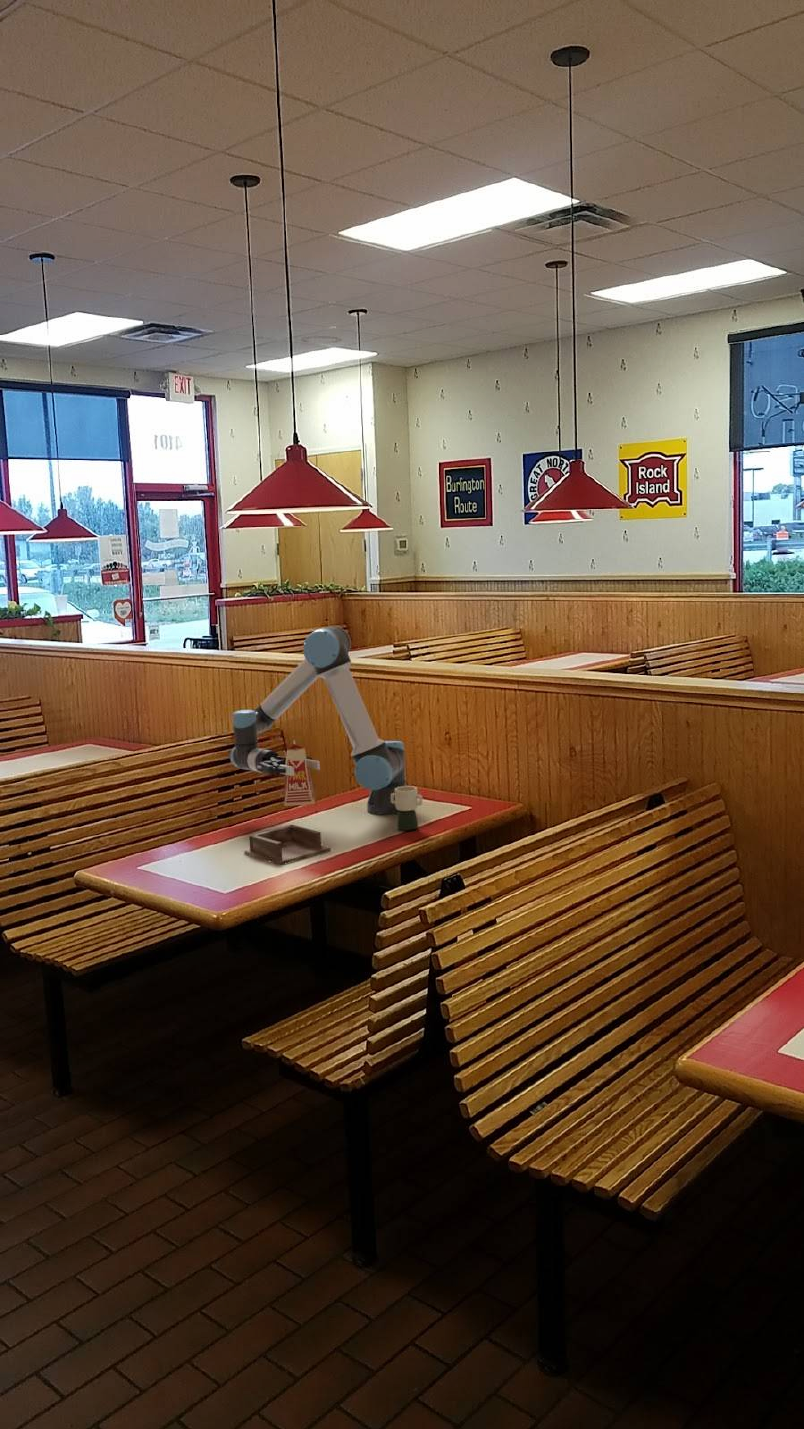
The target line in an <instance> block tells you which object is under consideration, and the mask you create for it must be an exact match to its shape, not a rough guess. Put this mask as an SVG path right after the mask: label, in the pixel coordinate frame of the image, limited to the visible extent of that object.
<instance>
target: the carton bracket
mask: <svg viewBox="0 0 804 1429" xmlns="http://www.w3.org/2000/svg"><path fill="white" fill-rule="evenodd" d="M321 834H322V833H321V832H320V831H318V830H313V829H310V828H305V827H301V826H298V825H294V824H289V825H285V826H281V827H277V828H273V829H269V830H267V831H262V832H258V833H254V834H251V835H250V834H249V836H248V839H249V849H246V850H244V851H243V852H244V855H246V856H249V855H250V856H249V857H252V856H253V858H255V859H259V860H262V861H265V862H268V861H271V862H273V863H272V864H274V865H278V866H283V865H285V863H287V864H290V863H293V862H292V861H294V862H296V861H300V860H304V859H308V858H310V857H311V856H312V857H315V856H318V854H319V855H322V854H325V853H328V852H329V853H330V852H331V850H332V849H331V847H328V846H325V845H322V837H321V836H322V835H321ZM271 862H270V863H271ZM289 862H290V863H289Z"/></svg>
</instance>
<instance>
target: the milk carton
mask: <svg viewBox="0 0 804 1429" xmlns="http://www.w3.org/2000/svg"><path fill="white" fill-rule="evenodd" d="M292 743H293V744H292V745H291V746H290V747H289V748H288V749H287V750H286V753H285V754H286V756H285V757H286V764H285V765H286V766H291V767H294V775H295V776H290V775H284V804H283V805H284V807H289V806H290V807H291V806H305V805H315V799H316V798H315V793H314V788H313V782H312V778H311V776H312V775H311V771H310V769H309V766H308V762H307V757H308V756H307V753H306V748H305V747H303V746H300V745H298V744H296V739H294V740H293V741H292Z"/></svg>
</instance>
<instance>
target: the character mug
mask: <svg viewBox="0 0 804 1429" xmlns="http://www.w3.org/2000/svg"><path fill="white" fill-rule="evenodd" d="M394 796H395V801H394ZM391 803H393V804H395V806H396V809H397V810H400V812H399V813H398V817H397V818H398V819H397V829H398V830H400V831H408V830H411V831H413V830H414V829H417V828H418V827H419V824H418V818H417V812H416V811H415V810H417V809H418V807H419V806H420V807H421V806H423V795H421V794H419V793H418V787H417V786H413V785H406V786H402V787H398V788H395V793H391Z"/></svg>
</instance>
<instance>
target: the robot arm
mask: <svg viewBox="0 0 804 1429" xmlns="http://www.w3.org/2000/svg"><path fill="white" fill-rule="evenodd" d="M351 641H352V640H351V637H350V635H349V634H348V632H347V631H346V630H345V629H344V628H343V627H341V626H337V625H330V626H326V627H322V628H321V627H320V628H318V629H316V630H314V631H313V632H311V633H310V634H309V635H308V636H307V637H306V638H305V640H304V642H303V647H302V650H303V656H304V658H303V660H302V661H301V662H300V663H299V664H298V665H297V666H296V667H295V668H294V669H293V670H292V671H291V672H290V673H289V675H288V676H286V677H285V679H284V680H282V682H281V683H280V684H278V685H277V687H276V688H275V689H273V691H272V692H271V693H270V694H268V696H267V697H265V699H264V700H263V701H262V702H261V703H260V704H259V705H258V706H257V707H256V708H255V709H254V710H252V709H241V710H237V711H234V712H232V727H233V737H234V747H233V748H232V749H231V752H230V755H229V759H230V762H231V764H232V765H233V766H235V767H236V768H239V769H241V770H248V771H253V772H258V773H259V774H262V773H263V774H268V775H271V776H273V775H275V777H280V775H284V776H285V775H290V776H295V775H294V767H291V766H286V765H285V764H286V756H282V755H279V754H278V752H277V751H275V750H271V749H265V748H259V741H258V736H259V735H260V734H262V733H264V732H267V731H268V730H270V729H271V728H272V727H273V725H274V723H275V722H276V720H278V719H279V717H281V715H283V714H284V712H286V711H287V709H289V708H290V706H292V705H293V703H295V701H297V700H298V699H299V697H300V696H302V694H304V692H306V691H307V690H308V689H309V687H311V685H313V683H314V682H316V681H317V679H319V678H321V679H323V680H324V682H325V684H326V686H327V689H328V691H329V693H330V696H331V698H332V701H333V703H334V706H335V708H336V709H337V713H338V715H339V717H340V720H341V722H342V724H343V725H342V726H343V727H344V729H345V731H346V734H347V736H348V739H349V741H350V744H351V746H352V751H351V753H350V756H351V758H352V760H353V763H354V765H355V766H354V776H355V778H356V780H357V781H356V782H357V783H358V784H359V785H360V786H362V787H363V788H364V789H367V790H370V791H369V795H368V798H367V802H366V803H367V804H366V806H367V807H366V810H367V812H368V813H371V814H376V815H393V814H394V815H395V814H399V812H400V810H397V809H396V806H395V804H393V803H391V793H395V788H398V787H402V786H407V777H406V776H407V775H406V758H405V755H406V754H405V752H406V749H405V745H404V743H403V741H399V740H383V739H382V738H380V737H378V734H377V732H376V729H375V727H374V724H373V722H372V720H371V717H370V715H369V713H368V710H367V709H366V705H365V703H364V701H363V699H362V696H361V693H360V691H359V689H358V687H357V684H356V682H355V679H354V677H353V675H352V672H351V670H350V667H351V665H352V660H351V657H350V655H349V652H350V650H351V649H352V648H351V647H352V646H351V645H352V642H351ZM306 757H307V762H308V766H309V770H316V771H321V765H320V760H314V759H313V757H311V756H310V757H309V755H308V756H306ZM394 801H395V796H394Z"/></svg>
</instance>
